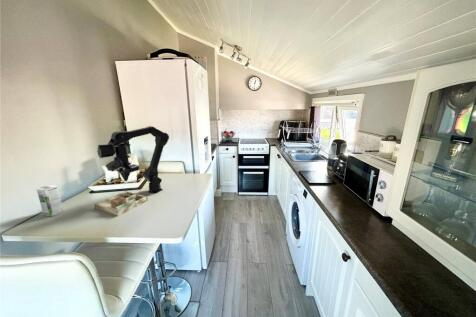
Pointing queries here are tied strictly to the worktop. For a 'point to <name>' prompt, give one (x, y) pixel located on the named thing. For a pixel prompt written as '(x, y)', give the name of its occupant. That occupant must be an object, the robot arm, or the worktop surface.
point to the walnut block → (117, 202)
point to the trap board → (131, 202)
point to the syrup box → (50, 200)
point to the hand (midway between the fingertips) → (125, 181)
